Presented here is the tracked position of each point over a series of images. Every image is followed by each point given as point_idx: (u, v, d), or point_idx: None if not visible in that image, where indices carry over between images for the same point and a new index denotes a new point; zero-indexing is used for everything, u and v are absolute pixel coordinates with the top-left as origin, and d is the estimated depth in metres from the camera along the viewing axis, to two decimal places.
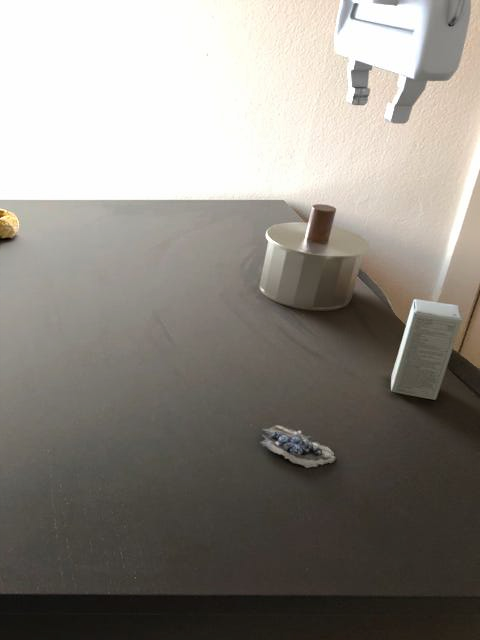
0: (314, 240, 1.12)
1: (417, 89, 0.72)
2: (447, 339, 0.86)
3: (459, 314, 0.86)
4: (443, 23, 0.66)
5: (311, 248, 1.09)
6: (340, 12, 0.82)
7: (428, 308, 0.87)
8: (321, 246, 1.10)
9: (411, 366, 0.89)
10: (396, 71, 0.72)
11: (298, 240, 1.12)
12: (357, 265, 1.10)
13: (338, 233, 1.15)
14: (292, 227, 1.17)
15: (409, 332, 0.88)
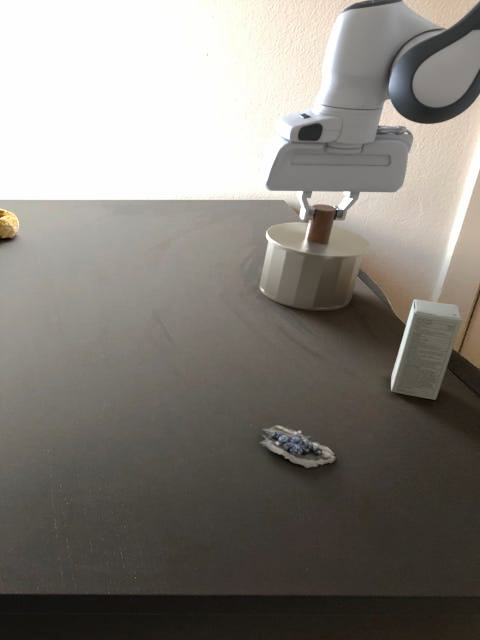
0: (314, 240, 1.12)
1: None
2: (447, 339, 0.86)
3: (459, 314, 0.86)
4: None
5: (311, 248, 1.09)
6: (280, 162, 1.05)
7: (428, 308, 0.87)
8: (321, 246, 1.10)
9: (411, 366, 0.89)
10: (371, 191, 1.08)
11: (298, 240, 1.12)
12: (357, 265, 1.10)
13: (338, 233, 1.15)
14: (292, 227, 1.17)
15: (409, 332, 0.88)
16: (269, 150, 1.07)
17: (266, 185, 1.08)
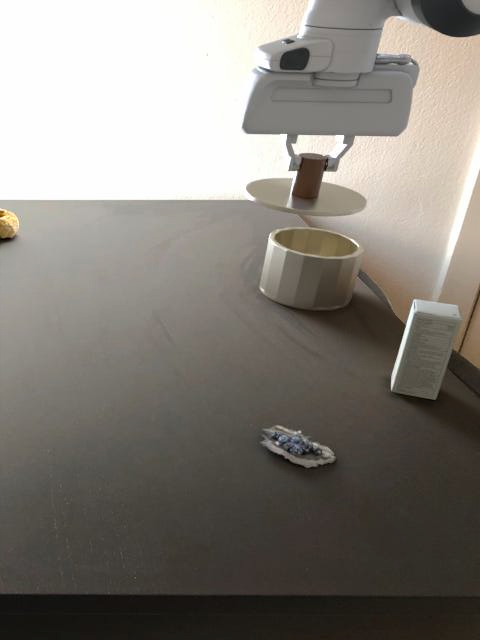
0: (301, 195, 0.94)
1: None
2: (447, 339, 0.86)
3: (459, 314, 0.86)
4: None
5: (297, 204, 0.91)
6: (259, 98, 0.87)
7: (428, 308, 0.87)
8: (309, 201, 0.92)
9: (411, 366, 0.89)
10: (369, 134, 0.90)
11: (282, 195, 0.94)
12: (357, 265, 1.10)
13: (329, 188, 0.97)
14: (276, 182, 0.99)
15: (409, 332, 0.88)
16: (246, 85, 0.89)
17: (242, 127, 0.90)
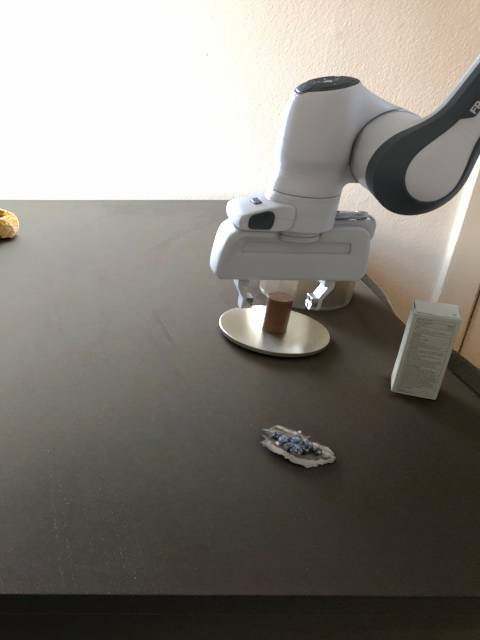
0: (270, 331, 1.03)
1: None
2: (447, 339, 0.86)
3: (459, 314, 0.86)
4: None
5: (266, 342, 1.00)
6: (230, 250, 0.96)
7: (428, 308, 0.87)
8: (277, 339, 1.01)
9: (411, 366, 0.89)
10: (331, 279, 0.98)
11: (253, 331, 1.03)
12: None
13: (297, 320, 1.06)
14: (248, 312, 1.08)
15: (409, 332, 0.88)
16: (219, 235, 0.98)
17: (216, 274, 0.98)
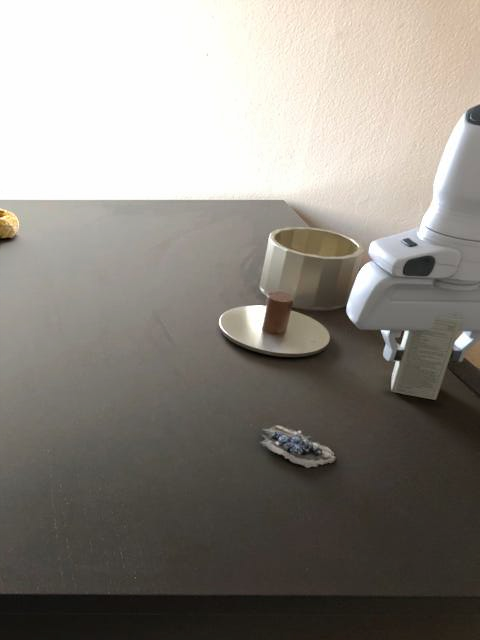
0: (270, 331, 1.03)
1: None
2: (447, 339, 0.86)
3: None
4: None
5: (266, 342, 1.00)
6: (377, 299, 0.84)
7: None
8: (277, 339, 1.01)
9: (411, 366, 0.89)
10: None
11: (253, 331, 1.03)
12: (357, 265, 1.10)
13: (297, 320, 1.06)
14: (248, 312, 1.08)
15: (409, 332, 0.88)
16: (362, 280, 0.86)
17: (357, 323, 0.86)
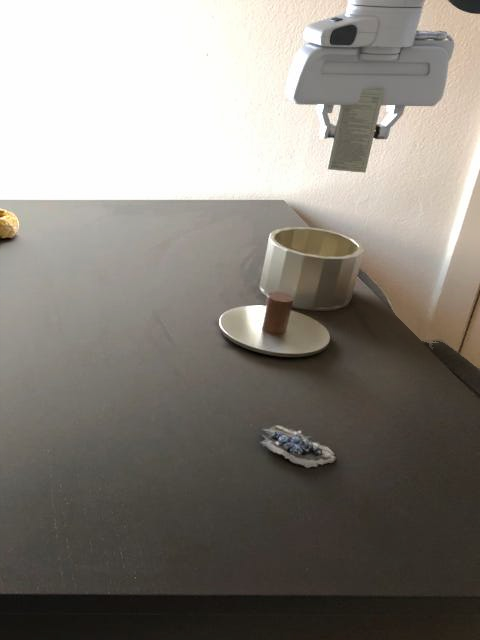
0: (270, 331, 1.03)
1: None
2: (372, 111, 0.99)
3: (382, 88, 0.98)
4: None
5: (266, 342, 1.00)
6: (309, 71, 0.96)
7: None
8: (277, 339, 1.01)
9: (343, 141, 1.02)
10: (408, 104, 0.99)
11: (253, 331, 1.03)
12: (357, 265, 1.10)
13: (297, 320, 1.06)
14: (248, 312, 1.08)
15: (340, 108, 1.00)
16: (297, 59, 0.98)
17: (294, 98, 0.99)
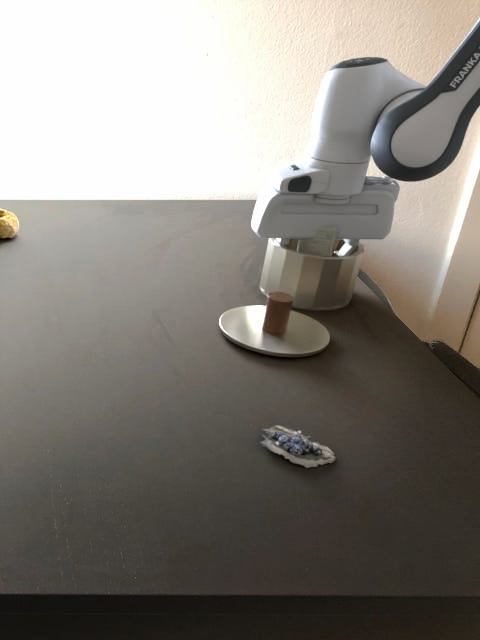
0: (270, 331, 1.03)
1: None
2: (327, 246, 1.11)
3: None
4: None
5: (266, 342, 1.00)
6: (271, 211, 1.09)
7: None
8: (277, 339, 1.01)
9: None
10: (360, 238, 1.11)
11: (253, 331, 1.03)
12: (357, 265, 1.10)
13: (297, 320, 1.06)
14: (248, 312, 1.08)
15: (299, 242, 1.12)
16: (261, 199, 1.11)
17: (257, 233, 1.11)
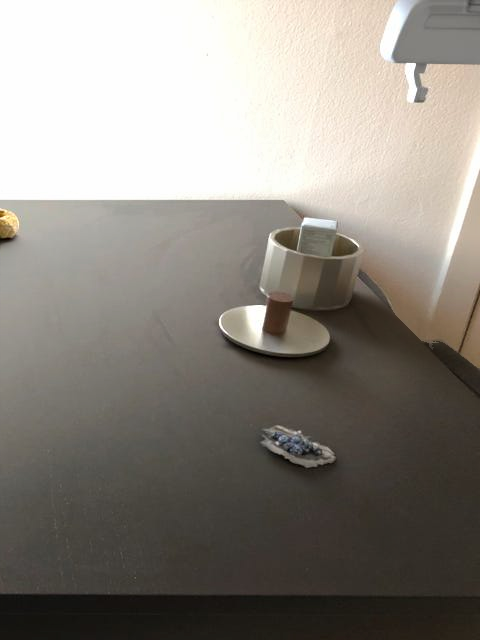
0: (270, 331, 1.03)
1: None
2: (327, 246, 1.11)
3: (336, 226, 1.11)
4: None
5: (266, 342, 1.00)
6: (412, 24, 0.86)
7: (313, 222, 1.12)
8: (277, 339, 1.01)
9: None
10: None
11: (253, 331, 1.03)
12: (357, 265, 1.10)
13: (297, 320, 1.06)
14: (248, 312, 1.08)
15: (299, 242, 1.12)
16: (396, 13, 0.88)
17: (392, 56, 0.89)
